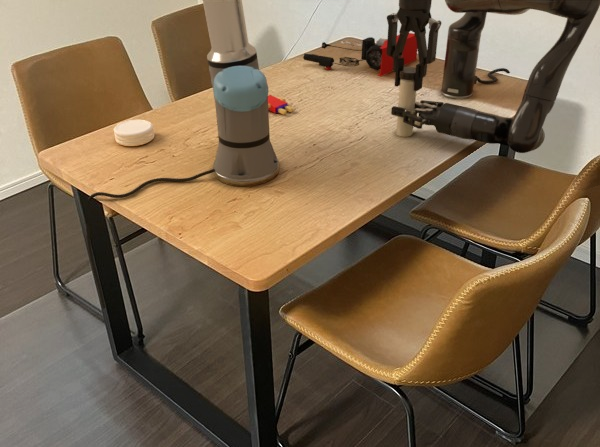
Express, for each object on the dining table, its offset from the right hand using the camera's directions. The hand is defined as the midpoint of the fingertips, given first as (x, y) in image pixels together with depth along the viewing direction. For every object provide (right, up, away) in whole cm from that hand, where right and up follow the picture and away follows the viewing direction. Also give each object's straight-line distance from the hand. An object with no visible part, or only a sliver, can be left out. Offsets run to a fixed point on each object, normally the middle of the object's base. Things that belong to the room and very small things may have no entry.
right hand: (396, 107), depth 160 cm
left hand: (+2, +4, -5) cm, 7 cm away
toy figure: (-32, +3, +18) cm, 37 cm away
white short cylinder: (-68, -8, +1) cm, 69 cm away
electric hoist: (-4, +25, +52) cm, 58 cm away
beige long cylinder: (+2, -6, +2) cm, 7 cm away
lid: (+2, +8, -7) cm, 10 cm away
